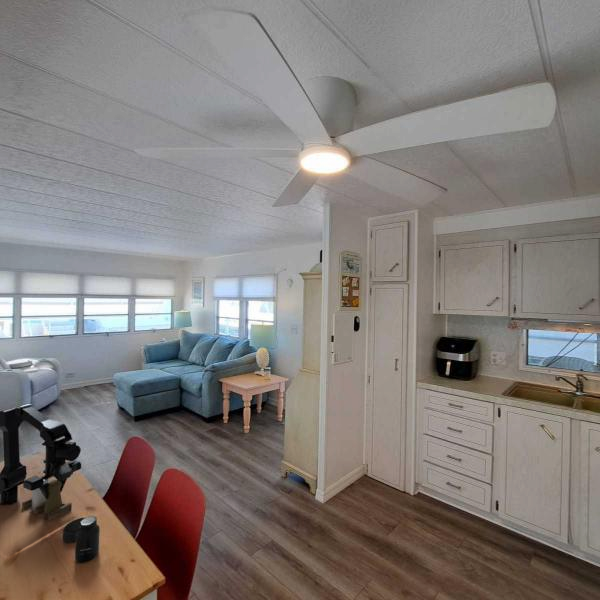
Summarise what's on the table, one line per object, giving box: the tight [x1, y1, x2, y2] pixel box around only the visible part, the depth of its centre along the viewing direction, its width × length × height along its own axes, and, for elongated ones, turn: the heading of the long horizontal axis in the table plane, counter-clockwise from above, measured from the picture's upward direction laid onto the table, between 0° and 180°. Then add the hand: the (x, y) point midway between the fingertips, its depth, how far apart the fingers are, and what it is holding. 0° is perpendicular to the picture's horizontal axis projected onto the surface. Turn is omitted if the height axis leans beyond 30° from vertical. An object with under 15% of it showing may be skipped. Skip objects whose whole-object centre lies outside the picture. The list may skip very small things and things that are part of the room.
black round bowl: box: [62, 517, 85, 543], centre depth 121 cm, size 9×9×4 cm
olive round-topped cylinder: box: [44, 479, 63, 514], centre depth 133 cm, size 6×6×11 cm
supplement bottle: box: [74, 515, 101, 564], centre depth 111 cm, size 7×7×12 cm
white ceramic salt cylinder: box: [31, 478, 50, 510], centre depth 136 cm, size 6×6×11 cm
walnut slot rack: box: [21, 497, 72, 522], centre depth 134 cm, size 19×8×3 cm, turn 66°
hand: (53, 495), depth 133 cm, fingers closed on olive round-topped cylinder, 5 cm apart
